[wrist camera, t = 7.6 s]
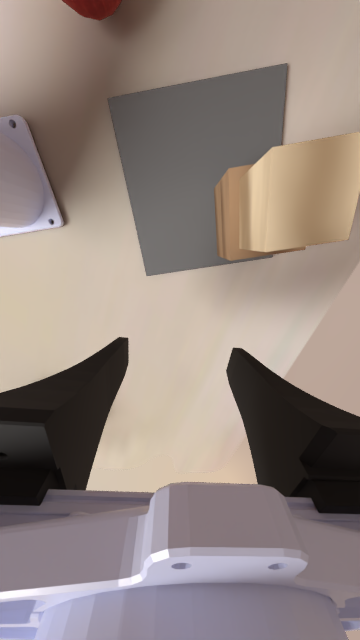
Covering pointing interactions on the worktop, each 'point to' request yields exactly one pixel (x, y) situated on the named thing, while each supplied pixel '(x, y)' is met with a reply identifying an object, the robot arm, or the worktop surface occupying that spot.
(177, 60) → the worktop surface
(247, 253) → the tower top
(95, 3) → the red round fruit
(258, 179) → the cube
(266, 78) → the mat
